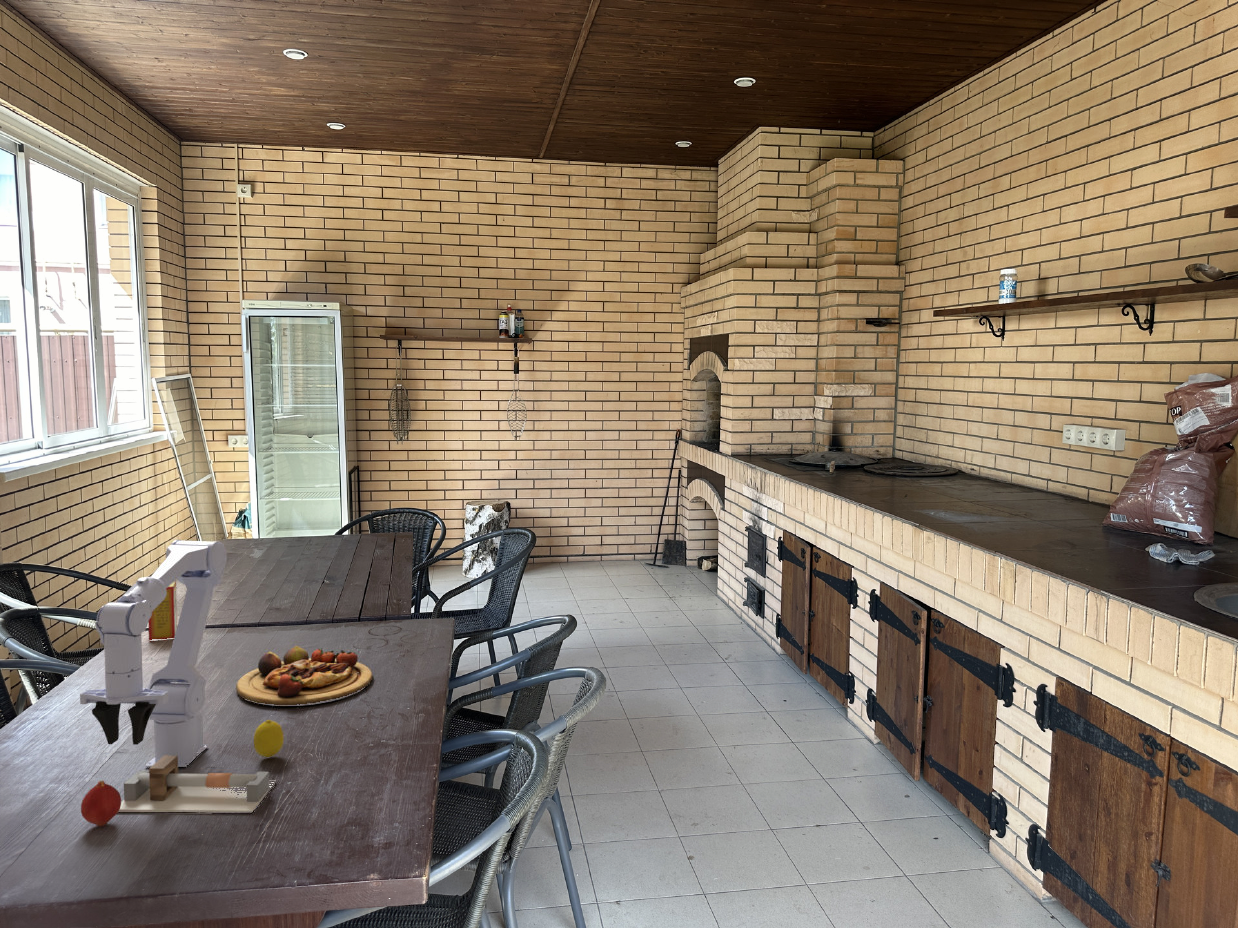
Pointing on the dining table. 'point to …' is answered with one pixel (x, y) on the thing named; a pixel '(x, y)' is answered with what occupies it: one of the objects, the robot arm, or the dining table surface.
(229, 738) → the dining table surface
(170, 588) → the baking soda box
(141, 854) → the dining table surface
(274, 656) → the wooden plate with food
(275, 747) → the lemon
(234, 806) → the rail
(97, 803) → the red pomegranate
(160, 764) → the collar
